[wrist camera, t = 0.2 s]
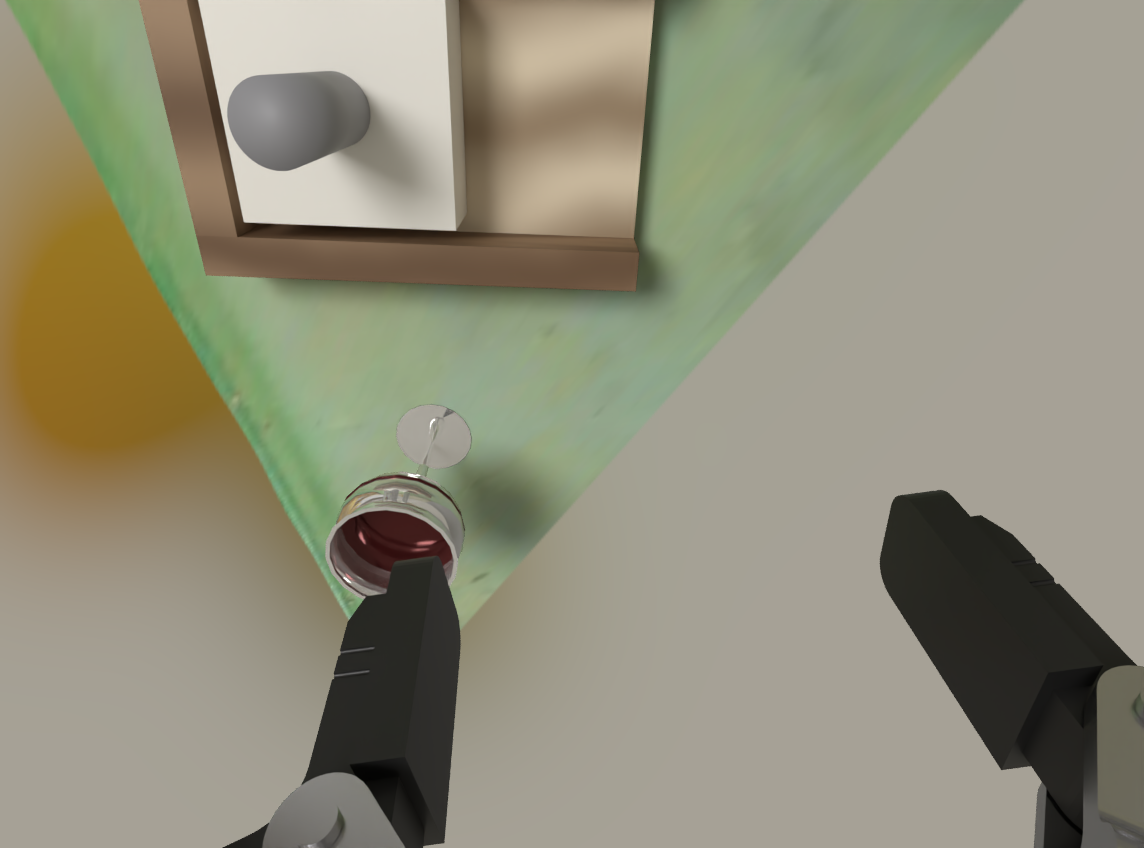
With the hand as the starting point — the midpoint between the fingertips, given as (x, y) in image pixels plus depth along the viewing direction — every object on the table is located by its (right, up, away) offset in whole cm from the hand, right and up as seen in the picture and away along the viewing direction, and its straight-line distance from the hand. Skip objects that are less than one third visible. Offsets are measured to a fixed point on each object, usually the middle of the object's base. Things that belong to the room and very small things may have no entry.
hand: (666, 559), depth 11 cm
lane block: (-12, +18, +20) cm, 30 cm away
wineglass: (-11, +2, +32) cm, 34 cm away
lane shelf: (-9, +19, +22) cm, 30 cm away
